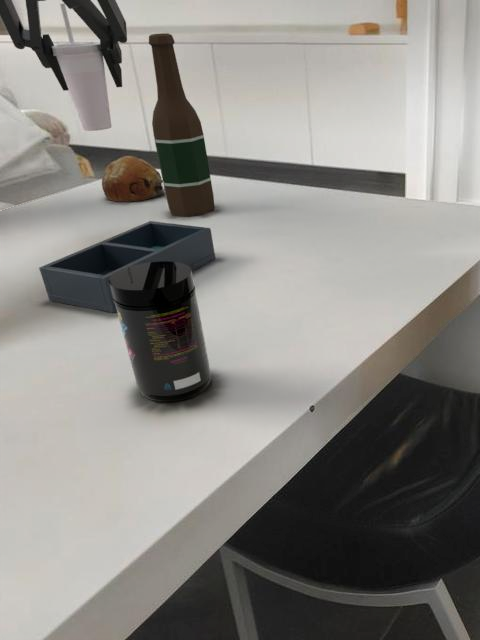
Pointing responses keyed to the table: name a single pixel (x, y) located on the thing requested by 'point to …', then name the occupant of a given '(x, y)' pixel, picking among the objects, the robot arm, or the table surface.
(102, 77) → the smoothie
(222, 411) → the table surface
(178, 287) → the supplement container
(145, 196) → the bread roll
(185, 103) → the beer bottle
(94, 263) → the compartment tray
